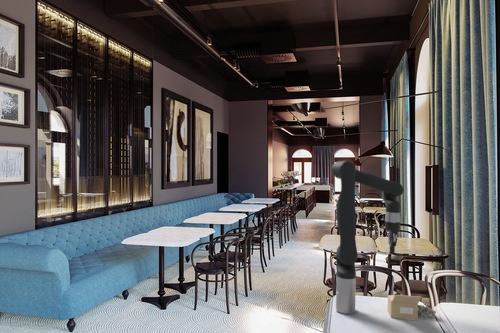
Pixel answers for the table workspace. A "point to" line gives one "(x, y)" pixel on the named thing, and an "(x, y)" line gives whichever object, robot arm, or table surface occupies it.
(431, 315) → the grey textured block
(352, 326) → the table surface
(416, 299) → the flap
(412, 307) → the carton
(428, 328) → the table surface
